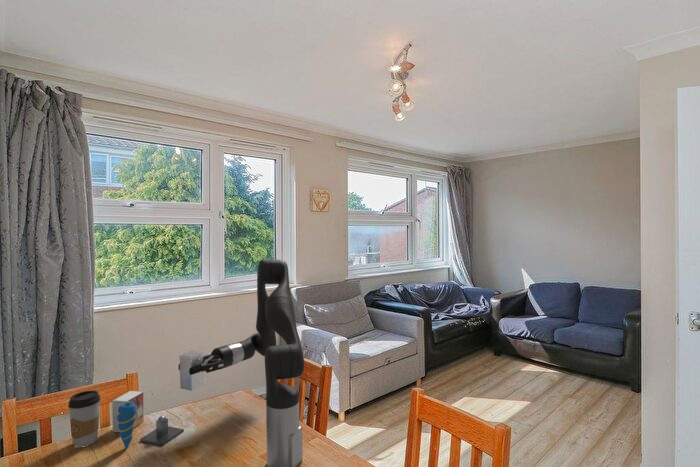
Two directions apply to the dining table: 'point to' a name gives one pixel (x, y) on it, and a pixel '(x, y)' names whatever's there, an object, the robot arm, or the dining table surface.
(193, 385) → the brushed metal pedestal
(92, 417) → the coffee cup
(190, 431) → the dining table surface
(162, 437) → the grey plate with post
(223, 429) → the dining table surface
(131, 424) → the ornament
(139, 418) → the small box
